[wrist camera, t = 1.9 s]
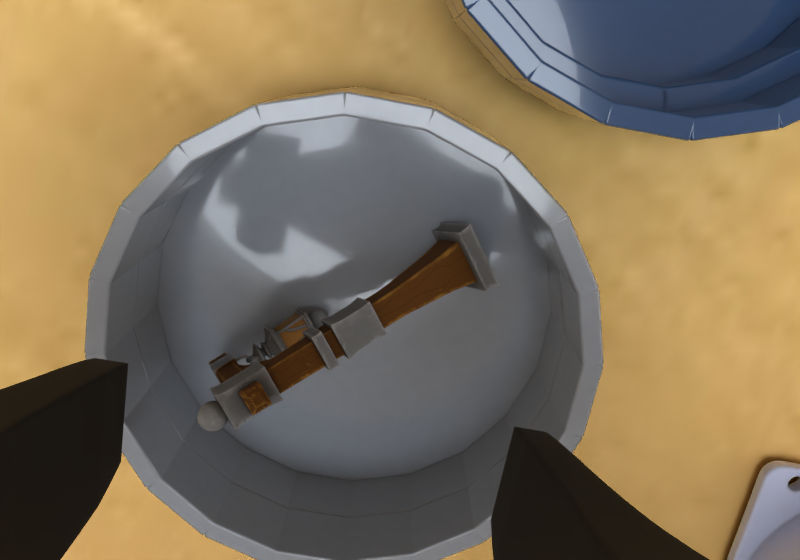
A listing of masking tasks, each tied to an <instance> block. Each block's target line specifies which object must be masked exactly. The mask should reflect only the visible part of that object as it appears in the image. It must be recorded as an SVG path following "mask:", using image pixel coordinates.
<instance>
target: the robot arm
mask: <svg viewBox="0 0 800 560" xmlns="http://www.w3.org/2000/svg"><path fill="white" fill-rule="evenodd" d="M127 374H128V363H123V362H117V361H111V360H105V359H98V358H92V359H88V360H84V361H80V362H77V363H74V364H71V365H68V366H65V367H62V368H59V369H57V370H54V371H51V372H48V373H46V374H43V375H40V376H37V377H35V378H32V379H29V380H26V381H23V382H21V383H18V384H15V385H12V386H9V387H7V388H4V389H1V390H0V560H60V559H61V558H62V557H63V555H64V554H65V553H66V551H67V550H68V548H69V547H70V546H71V544H72V543H73V541H74V540H75V539H76V537H77V536H78V534H79V533H80V531H81V530H82V529H83V527H84V526H85V524H86V523H87V522H88V520H89V519H90V517H91V516H92V514H93V513H94V511H95V510H96V508H97V507H98V505H99V503H100V502H101V500H102V498H103V496H104V494H105V492H106V490H107V488H108V487H109V485H110V483H111V481H112V479H113V477H114V475H115V472H116V470H117V468H118V466H119V464H120V462H121V454H122V441H123V427H124V414H125V401H126V388H127ZM796 476H799V477H798V479H797V481H796V482H794V483H792V484H788V482H789V481H790V480H791V479H792V478H794V477H796ZM491 531H492V547H493V558H494V560H709V559H708V558H706V557H704V556H703V555H701V554H699V553H698V552H696V551H694V550H693V549H691V548H690V547H688V546H687V545H685V544H684V543H682V542H681V541H679V540H678V539H676V538H675V537H673V536H672V535H670V534H669V533H668V532H666V531H665V530H663V529H662V528H660V527H659V526H658V525H656V524H655V523H654V522H652V521H651V520H650V519H648V518H647V517H646V516H644V515H643V514H642V513H641V512H639V511H638V510H637V509H636V508H634V507H633V506H632V505H630V504H629V503H628V502H627V501H625V500H624V499H623V498H622V497H621V496H620V495H618V494H617V493H616V492H615V491H614V490H612V489H611V488H610V487H609V486H608V485H607V484H606V483H604V482H603V481H602V480H601V479H600V478H599V477H598V476H596V475H595V474H594V473H593V472H592V471H591V470H590V469H589V468H588V467H587V466H585V465H584V464H583V463H582V462H581V461H580V460H579V459H578V458H577V457H576V456H574V455H573V454H572V453H571V452H570V451H569V450H568V449H567V448H566V447H565V446H563V445H562V444H561V443H560V442H559V441H558V440H556V439H555V438H554V437H553V436H551V435H550V434H549V433H547V432H544V431H538V430H532V429H526V428H520V427H514V430H513V434H512V438H511V442H510V445H509V449H508V453H507V457H506V461H505V465H504V469H503V473H502V477H501V481H500V485H499V489H498V493H497V497H496V501H495V505H494V509H493V513H492V517H491ZM727 560H800V464H798V463H792V462H786V461H772V462H769V463H767V464H766V465H765V466H763V467H762V469H761V471H760V472H759V475H758V478H757V480H756V483H755V486H754V488H753V491H752V494H751V496H750V499H749V502H748V504H747V507H746V510H745V512H744V515H743V518H742V520H741V523H740V526H739V528H738V531H737V534H736V536H735V539H734V542H733V544H732V547H731V550H730V552H729V555H728V558H727Z"/></svg>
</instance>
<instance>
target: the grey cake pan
mask: <svg viewBox="0 0 800 560" xmlns="http://www.w3.org/2000/svg"><path fill="white" fill-rule="evenodd" d="M440 223H459V224H471V227H472V229H473V231H474V233H475V235H476V237H477V239H478V241H479V243H480V246H481V248H482V250H483V252H484V254H485V256H486V258H487V260H488V262H489V265H490V267H491V269H492V271H493V273H494V275H495V277H496V279H497V281H498V284H499V286H493V287H490V288H488V290H487V291H483V290H479V289H474V288H470V287H462V288H460V289H457V290H455V291H452V292H450V293H448V294H446V295H444V296H442V297H440V298H439V299H437V300H435V301H433V302H431V303H429V304H427V305H425V306H423V307H421V308H419V309H417V310H415V311H413V312H411V313H409V314H407V315H405V316H404V317H402V318H400V319H399V320H397V321H396V322H394V323H392V324H391V325H389V326H388V327H386V328H384V329H385V331H386V333H387V335H384V336H382V337H379V338H377V339H375V340H374V341H372V342H371V343H369V344H368V345H366V346H364V347H363V348H361V349H360V350H358V351H357V352H356V353H355V354H354V355H353V356H352V357H351V358H350V359H348V358H347V357H345V356H344V355H343V356H341V357H340V358H338V359H337V361H338V363H339V364H340V366H336V367H334V368H333V369H332V370H331V371H330V370H328V369H327V368H325V367H323V368H322V369H320V370H318V371H317V372H315V373H313V374H312V375H310V376H309V377H307V378H305V379H304V380H302V381H300V382H299V383H297V384H295V385H294V386H292V387H291V388H289V389H287V390H286V391H284V392H282V393H281V394H280V395H281V396H282V398H283V401H281V402H278V403H276V404H273V405H272V406H270V407H268V408H267V409H265V410H264V411H262V412H261V413H259V414H257V415H256V416H254V417H253V418H251V419H250V420H248V421H246V422H245V423H244V424H243V425H242V426H240V427H239V428H238V429H237V430H235V429H234V428H233V426H232V425H231V424H230V422H229V421H227V423H226V425H225V426H224V427H223V428H222V429H220V430H218V431H207V430H205V429H203V428H202V427H201V426H200V425H199V423H198V419H197V415H198V411H199V409H200V408H201V406H202V405H204V404H205V403H207V402H209V401H216V399H215V398H214V396H213V394H212V393H211V391H210V389H209V388H212V387H214V386H217V385H219V384H220V383H219V381H218V379H217V378H216V376H215V375H214V373H213V371H212V370H211V368H210V364H209V363H208V362H210V361H212V360H213V359H215V358H217V357H218V356H220V355H222V354H223V353H226V355H227V354H228V355H229V354H231V355H232V356H233V357H234V358H235V359H236V358H238V357H239V356H242V355H247V356H251V355H252V354H253V343H254V344H255V345H257V346H258V347H259V348H261V343H260V342H263V343H264V342H265V332H264V327H263V326H264V325H265V324H267V325H268V326H269V327H270V328H273V327H275V326H277V325H278V324H280V323H281V322H283V321H284V320H286V319H287V318H288V317H290V316H291V315H293V313H294V312H295V311H296V309H297V308H300V309H301V310H303V311H305V312H306V313H307V314H308V313H309V312H310V311H311V310H312V309H314V308H322V309H324V310H325V311H326V312H327V313H328V316H331V315H333V314H335V313H336V312H338V311H340V310H341V309H343V308H345V307H346V306H348V305H350V304H351V303H352V302H353V301H354V300H355V299H356V298H357V297H359V298H361V299H364V300H365V299H366V298H368V297H370V296H371V295H373V294H374V293H376V292H377V291H379V290H380V289H382V288H383V287H385V286H386V285H387V284H388V283H390V282H391V281H392V280H393V279H395V278H396V277H397V276H398V275H400V274H401V273H402V272H403V271H405V270H406V269H407V268H408V267H410V266H411V265H412V264H413V263H415V262H416V261H417V260H418V259H419V258H421V257H422V256H423V255H424V254H425V253H426V252H427V251H428V250H429V249H430V248H431V247H432V246H433V245H434V244H435V243H436V240H435V238H434V236H433V234H432V232H431V231H432V230H435V229H436V228H437V227H439V225H440ZM85 353H86V354H85V358H86V360H88V359H92V358H98V359H105V360H111V361H117V362H123V363H128V374H127V388H126V401H125V414H124V427H123V441H122V453H123V454H124V456H125V457H126V459H127V460H128V462H129V463H130V465H131V466H132V468H133V469H134V471H135V472H136V474H137V475H138V477H139V478H140V480H141V481H142V483H143V484H144V486H145V487H148V488H147V489H148V490H149V491H150V492H151V493H152V494H154V495H155V496H156V497H157V498H158V499H160V500H161V501H162V502H163V503H164V504H166V505H167V506H168V507H169V508H171V509H172V510H173V511H174V512H175V513H177V514H178V515H179V516H180V517H181V518H183V519H184V520H185V521H186V522H187V523H189V524H190V525H191V526H192V527H193V528H195V529H196V530H197V531H198V532H200V533H201V534H202V535H204V534H205V537H207V538H210V539H212V540H214V541H216V542H219V543H221V544H223V545H225V546H228V547H230V548H232V549H234V550H237V551H239V552H241V553H243V554H246V555H248V556H250V557H252V558H255V559H257V560H441V559H443V558H446V557H448V556H451V555H453V554H456V553H458V552H461V551H463V550H466V549H468V548H471V547H473V546H476V545H478V544H481V543H483V542H484V541H486V540H488V539H489V538H490V537H491V536H492V531H491V517H492V513H493V509H494V505H495V501H496V497H497V493H498V489H499V485H500V481H501V477H502V473H503V469H504V465H505V461H506V457H507V453H508V449H509V445H510V442H511V438H512V434H513V430H514V427H520V428H526V429H532V430H538V431H544V432H547V433H549V434H550V435H551V436H553V437H554V438H555V439H556V440H558V441H559V442H560V443H561V444H562V445H563V446H565V447H566V448H567V449H568V450H569V451H570V452H571V453H572V452H573V451H574V449H575V448H576V446H577V445H578V444H579V442H580V441H581V439H582V436H583V435H584V432H585V428H586V425H587V421H588V418H589V414H590V411H591V407H592V404H593V400H594V397H595V393H596V390H597V386H598V383H599V380H600V376H601V373H602V369H603V366H602V365H603V345H602V327H601V309H600V291H599V289H598V284H597V282H596V279H595V277H594V275H593V272H592V270H591V267H590V265H589V263H588V260H587V258H586V256H585V253H584V251H583V248H582V246H581V244H580V241H579V239H578V236H577V234H576V232H575V229H574V227H573V224H572V222H571V220H570V217H569V216H568V215H567V212H566V211H565V210H564V209H563V208H562V207H561V206H560V205H559V203H558V202H557V201H556V200H555V199H554V198H553V197H552V196H551V195H550V193H549V192H548V191H547V190H546V189H545V188H544V187H543V186H542V185H541V183H540V182H539V181H538V180H537V179H536V178H535V177H534V176H533V175H532V173H531V172H530V171H529V170H528V169H527V168H526V167H525V166H524V165H523V163H522V162H521V161H520V160H519V159H518V158H517V157H516V156H515V155H514V153H513V152H511V151H510V150H509V149H507V148H506V147H505V146H504V145H502V144H501V143H500V142H498V141H497V140H496V139H495V138H493V137H492V136H491V135H490V134H488V133H486V132H484V131H483V130H481V129H479V128H477V127H475V126H474V125H472V124H470V123H468V122H467V121H465V120H463V119H461V118H459V117H458V116H456V115H454V114H452V113H450V112H449V111H447V110H445V109H443V108H441V107H440V106H438V105H436V104H434V103H433V102H431V101H427V100H426V99H421V98H415V97H410V96H405V95H399V94H395V93H390V92H383V91H378V90H373V89H368V88H362V87H346V88H339V89H332V90H325V91H318V92H310V93H303V94H296V95H289V96H283V97H280V98H276V99H272V100H268V101H264V102H260V103H258V104H254V105H251V106H249V107H248V108H246V109H244V110H242V111H240V112H238V113H236V114H234V115H232V116H230V117H228V118H226V119H224V120H222V121H220V122H218V123H216V124H214V125H212V126H210V127H208V128H206V129H204V130H202V131H200V132H198V133H196V134H194V135H192V136H190V137H189V138H187V139H185V140H183V141H181V142H180V143H179V144H177V145H175V146H174V147H173V149H172V150H171V151H170V152H169V153H168V154H167V155H166V156H165V157H164V158H163V159H162V160H161V161H160V162H159V163H158V164H157V165H156V167H155V168H154V169H153V170H152V171H151V172H150V173H149V174H148V175H147V176H146V177H145V178H144V179H143V180H142V181H141V182H140V183H139V185H138V186H137V187H136V188H135V189H134V190H133V191H132V192H131V193H130V194H129V195H128V196H127V197H126V198H125V199H124V200H123V201H122V204H121V205H120V206H119V208H118V210H117V213H116V215H115V217H114V220H113V222H112V224H111V227H110V229H109V231H108V234H107V236H106V238H105V241H104V243H103V245H102V248H101V250H100V252H99V255H98V257H97V259H96V262H95V264H94V266H93V269H92V271H91V273H90V278H89V285H88V302H87V320H86V337H85ZM273 357H274V355H273V356H272V358H273ZM253 358H254V357H253ZM265 358H266V359H267V360H268V359H271V358H269V357H268V356H265ZM246 360H247V359H246V358H243V359H240V360H239V361H237V363H238V364H239V365H249V364H250V363H247V362H246ZM256 361H257V360H256ZM253 362H254V361H253ZM257 362H259V361H257Z"/></svg>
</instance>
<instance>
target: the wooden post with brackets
mask: <svg viewBox="0 0 800 560" xmlns="http://www.w3.org/2000/svg"><path fill="white" fill-rule="evenodd" d="M431 232H432V234H433V236H434V238H435V240H436V243H435V244H434V245H433V246H432V247H431V248H430V249H429V250H428V251H427V252H426V253H425V254H424V255H423V256H422V257H421V258H419V259H418V260H417V261H416V262H415V263H413V264H412V265H411V266H410V267H408V268H407V269H406V270H405V271H403V272H402V273H401V274H400V275H398V276H397V277H396V278H395V279H393V280H392V281H391V282H390V283H388V284H387V285H386V286H385V287H383V288H382V289H380V290H379V291H377V292H376V293H374V294H373V295H371V296H370V297H368V298H366V299H365V300H364V299H361V298H359V297H357V298H356V299H355V300H354V301H353V302H352V303H351V304H350V305H348V306H346V307H345V308H343V309H341V310H340V311H338V312H336V313H335V314H333V315H331V316H328V313H327V312H326V311H325V310H324V309H322V308H314V309H312V310H311V311H310V312H309V313H308V314H307V313H306V312H305V311H303V310H301V309H300V308H297V309H296V311H295V312H294V313H293V315H291V316H290V317H288V318H287V319H286V320H284V321H283V322H281V323H280V324H278V325H277V326H275V327H273V328H270V327H269V326H268V325H267V324H265V325H264V326H263V327H264V332H265V342H264V343H263V342H260V343H261V348H259V347H258V346H257V345H255V344H254V343H253V354H252V355H251V356H247V355H242V356H239V357H238V358H236V359H235V358H234V357H233V356H232V355H231V354H229V355H228V354H227V355H226V353H223V354H222V355H220V356H218V357H217V358H215V359H213V360H212V361H210V362H208V363H209V364H210V368H211V370H212V371H213V373H214V375H215V376H216V378H217V379H218V381H219V383H220V384H219V385H217V386H214V387H212V388H209V389H210V391H211V393H212V394H213V396H214V398H215V399H216V401H209V402H207V403H205V404H204V405H202V406H201V408H200V409H199V411H198V415H197V419H198V423H199V425H200V426H201V427H202V428H203V429H205V430H207V431H218V430H220V429H222V428H223V427H224V426H225V425H226V423H227V421H229V422H230V424H231V425H232V426H233V428H234V429H235V430H237V429H238V428H239V427H240V426H242V425H243V424H244V423H245V422H246V421H248V420H250V419H251V418H253V417H254V416H256V415H257V414H259V413H261V412H262V411H264V410H265V409H267V408H268V407H270V406H272V405H273V404H276V403H278V402H281V401H283V398H282V396H281V395H280V394H281V393H282V392H284V391H286V390H287V389H289V388H291V387H292V386H294V385H295V384H297V383H299V382H300V381H302V380H304V379H305V378H307V377H309V376H310V375H312V374H313V373H315V372H317V371H318V370H320V369H322V368H323V367H325V368H327V369H328V370H330V371H331V370H332V369H333V368H334V367H336V366H340V364H339V363H338V361H337V359H338V358H340V357H341V356H343V355H344V356H345V357H347V358H348V359H350V358H351V357H352V356H353V355H354V354H355V353H356V352H357V351H358V350H360V349H361V348H363V347H364V346H366V345H368V344H369V343H371V342H372V341H374V340H375V339H377V338H379V337H382V336H384V335H387V333H386V331H385V329H384V328H386V327H388V326H389V325H391V324H392V323H394V322H396V321H397V320H399V319H400V318H402V317H404V316H405V315H407V314H409V313H411V312H413V311H415V310H417V309H419V308H421V307H423V306H425V305H427V304H429V303H431V302H433V301H435V300H437V299H439V298H440V297H442V296H444V295H446V294H448V293H450V292H452V291H455V290H457V289H460V288H462V287H470V288H474V289H479V290H483V291H487V290H488V288H490V287H493V286H499V284H498V281H497V279H496V277H495V275H494V273H493V271H492V269H491V267H490V265H489V262H488V260H487V258H486V256H485V254H484V252H483V250H482V248H481V246H480V243H479V241H478V239H477V237H476V235H475V233H474V231H473V229H472V227H471V224H459V223H440V225H439V227H437V228H436V229H435V230H432V231H431ZM273 355H274V357H273V358H272V356H273ZM265 356H268V357H269V358H271V359H268V360H267V359H266V358H265ZM253 357H254V358H253ZM243 358H246V359H247V360H246V362H247V363H250V364H249V365H239V364H238V363H237V361H239V360H240V359H243ZM256 360H257V361H259V362H257V361H256ZM253 361H254V362H253Z"/></svg>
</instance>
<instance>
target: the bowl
mask: <svg viewBox="0 0 800 560" xmlns="http://www.w3.org/2000/svg"><path fill="white" fill-rule="evenodd" d="M445 2H446V5H447V7H448V9H449V12H450V14H451V16H452V18H453V19H455V23H456V24H457V25H458V26H459V28H460V29H461V30H462V31H463V32H464V33H465V34H466V36H467V37H468V38H469V39H470V40H471V41H472V42H473V44H474V45H475V46H476V47H477V48H478V49H479V50H480V52H481V53H482V54H483V55H484V56H485V57H486V58H487V60H488V61H489V62H490V63H491V64H492V65H493V66H494V67H495V69H496V70H497V71H498V72H499V73H500V74H501V75H502V76H503V77H505V79H506V80H508V81H510V82H512V83H513V84H515V85H517V86H519V87H520V88H522V89H524V90H526V91H527V92H529V93H531V94H533V95H534V96H536V97H538V98H540V99H541V100H543V101H545V102H546V103H548V104H550V105H552V106H553V107H555V108H557V109H559V110H560V111H562V112H564V113H567V114H570V115H573V116H576V117H579V118H583V119H586V120H589V121H593V122H596V123H600V124H603V125H607V126H612V127H617V128H623V129H628V130H633V131H639V132H644V133H649V134H654V135H660V136H665V137H670V138H675V139H681V140H686V141H687V140H691V141H695V140H702V139H710V138H717V137H725V136H732V135H740V134H747V133H755V132H762V131H770V130H777V129H779V128H783V127H786V126H788V125H790V124H792V123H794V122H797V121H799V120H800V0H445Z"/></svg>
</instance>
